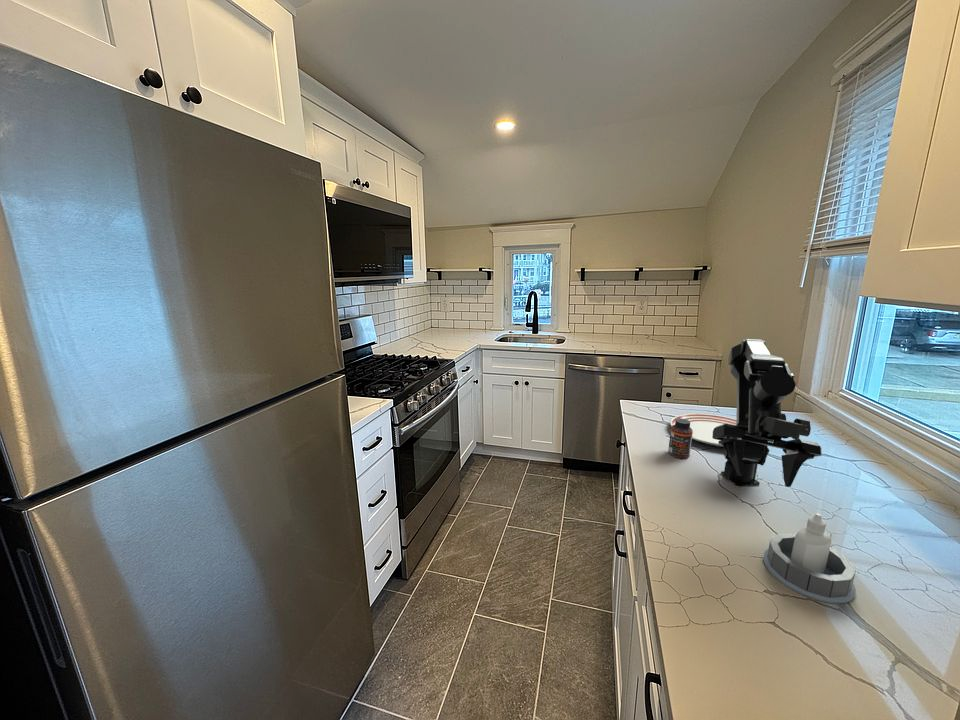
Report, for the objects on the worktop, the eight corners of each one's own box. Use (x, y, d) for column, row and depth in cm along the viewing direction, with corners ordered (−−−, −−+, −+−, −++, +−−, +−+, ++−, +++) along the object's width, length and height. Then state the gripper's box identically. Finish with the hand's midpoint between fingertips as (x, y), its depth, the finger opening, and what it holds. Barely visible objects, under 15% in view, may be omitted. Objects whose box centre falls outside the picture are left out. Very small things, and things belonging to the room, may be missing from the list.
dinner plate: (659, 438, 127) (660, 429, 126) (680, 414, 147) (681, 406, 146) (758, 463, 109) (760, 453, 108) (767, 432, 129) (768, 423, 128)
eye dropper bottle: (830, 583, 67) (844, 525, 64) (792, 574, 69) (803, 518, 66) (820, 565, 71) (832, 510, 68) (783, 557, 73) (794, 504, 70)
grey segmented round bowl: (806, 546, 76) (810, 529, 75) (876, 600, 64) (882, 580, 63) (747, 550, 76) (750, 533, 75) (805, 606, 63) (810, 586, 62)
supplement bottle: (669, 457, 113) (672, 423, 111) (667, 448, 119) (670, 415, 116) (691, 460, 111) (695, 425, 109) (688, 451, 117) (692, 418, 114)
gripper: (739, 392, 77) (736, 468, 72) (841, 411, 73) (845, 492, 69) (713, 403, 87) (709, 470, 82) (801, 421, 84) (802, 492, 79)
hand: (763, 481), depth 78 cm, fingers open, 9 cm apart
